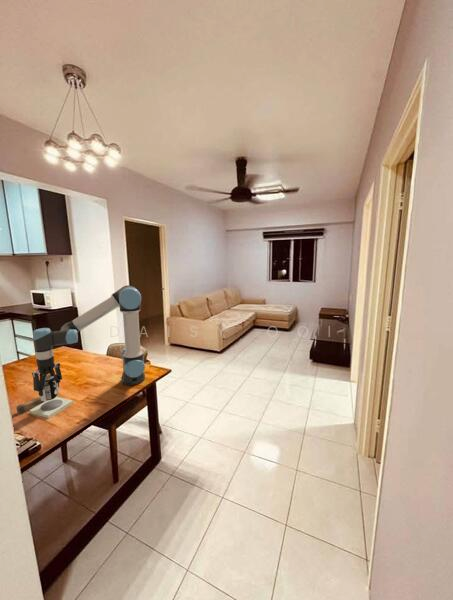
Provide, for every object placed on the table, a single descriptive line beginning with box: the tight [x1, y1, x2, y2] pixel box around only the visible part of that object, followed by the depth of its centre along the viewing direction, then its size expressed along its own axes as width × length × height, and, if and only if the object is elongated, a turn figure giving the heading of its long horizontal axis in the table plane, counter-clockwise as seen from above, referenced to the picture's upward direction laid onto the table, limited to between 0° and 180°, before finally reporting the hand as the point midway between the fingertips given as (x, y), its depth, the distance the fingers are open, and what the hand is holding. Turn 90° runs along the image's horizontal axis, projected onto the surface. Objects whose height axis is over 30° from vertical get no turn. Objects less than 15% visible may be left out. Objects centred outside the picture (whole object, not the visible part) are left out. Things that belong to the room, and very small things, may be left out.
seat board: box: [29, 396, 74, 419], centre depth 137 cm, size 14×14×2 cm
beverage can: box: [43, 374, 58, 401], centre depth 135 cm, size 7×7×12 cm
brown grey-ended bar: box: [16, 396, 45, 415], centre depth 138 cm, size 15×3×4 cm, turn 150°
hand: (50, 396), depth 135 cm, fingers closed on beverage can, 7 cm apart
